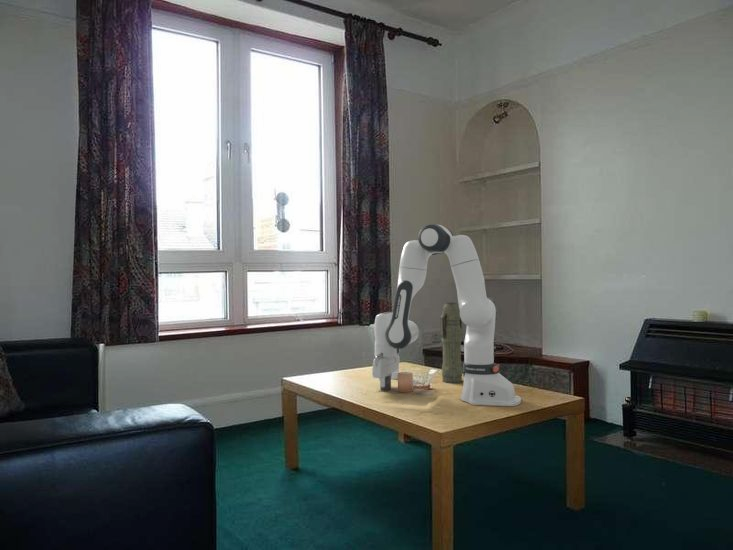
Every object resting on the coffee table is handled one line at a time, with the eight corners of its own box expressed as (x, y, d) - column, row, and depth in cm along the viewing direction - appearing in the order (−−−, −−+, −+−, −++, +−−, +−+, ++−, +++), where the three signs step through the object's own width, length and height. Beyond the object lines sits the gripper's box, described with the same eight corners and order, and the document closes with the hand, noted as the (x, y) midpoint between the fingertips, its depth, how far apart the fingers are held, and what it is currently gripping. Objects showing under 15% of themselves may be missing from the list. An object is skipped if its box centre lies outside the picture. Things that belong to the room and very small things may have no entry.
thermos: (435, 381, 251) (434, 303, 250) (453, 378, 258) (452, 301, 258) (450, 384, 244) (449, 303, 244) (468, 380, 252) (467, 302, 251)
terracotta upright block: (414, 389, 228) (414, 372, 228) (409, 392, 222) (409, 375, 222) (400, 388, 230) (400, 371, 230) (395, 391, 225) (395, 374, 224)
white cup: (388, 380, 254) (388, 358, 254) (379, 378, 261) (379, 356, 261) (402, 378, 258) (402, 357, 258) (393, 376, 265) (393, 355, 265)
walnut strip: (437, 393, 226) (437, 378, 226) (430, 398, 217) (430, 382, 217) (386, 389, 235) (386, 374, 235) (377, 394, 226) (377, 379, 225)
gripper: (383, 355, 219) (383, 391, 219) (401, 348, 237) (401, 381, 237) (368, 354, 221) (368, 389, 221) (387, 347, 240) (387, 380, 240)
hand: (385, 385), depth 229 cm, fingers closed on walnut strip, 4 cm apart
